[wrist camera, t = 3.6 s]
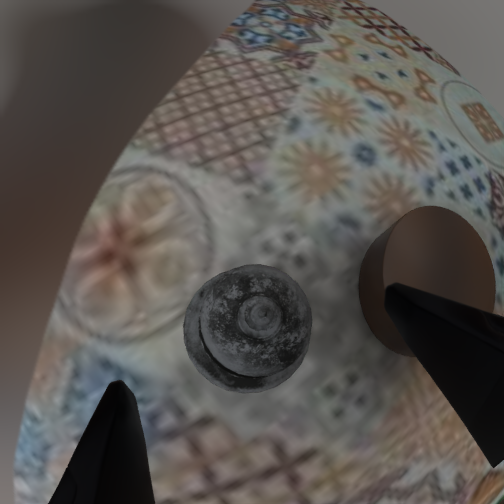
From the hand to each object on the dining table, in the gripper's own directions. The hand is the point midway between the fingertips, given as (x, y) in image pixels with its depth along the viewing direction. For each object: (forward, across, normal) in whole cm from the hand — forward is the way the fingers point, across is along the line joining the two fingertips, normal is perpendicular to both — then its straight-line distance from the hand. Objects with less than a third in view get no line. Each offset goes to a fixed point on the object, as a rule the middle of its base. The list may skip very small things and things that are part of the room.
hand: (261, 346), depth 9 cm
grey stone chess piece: (+6, 0, +6) cm, 9 cm away
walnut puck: (+5, -12, +7) cm, 14 cm away
